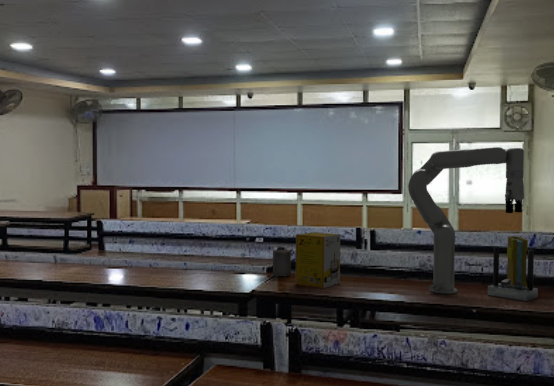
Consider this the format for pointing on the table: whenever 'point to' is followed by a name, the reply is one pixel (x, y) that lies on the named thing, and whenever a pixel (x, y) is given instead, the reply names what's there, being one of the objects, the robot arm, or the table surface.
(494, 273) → the gray double-post stand
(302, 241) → the packaging box
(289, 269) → the gray lidded canister
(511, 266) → the book
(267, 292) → the table surface
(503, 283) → the paddle
